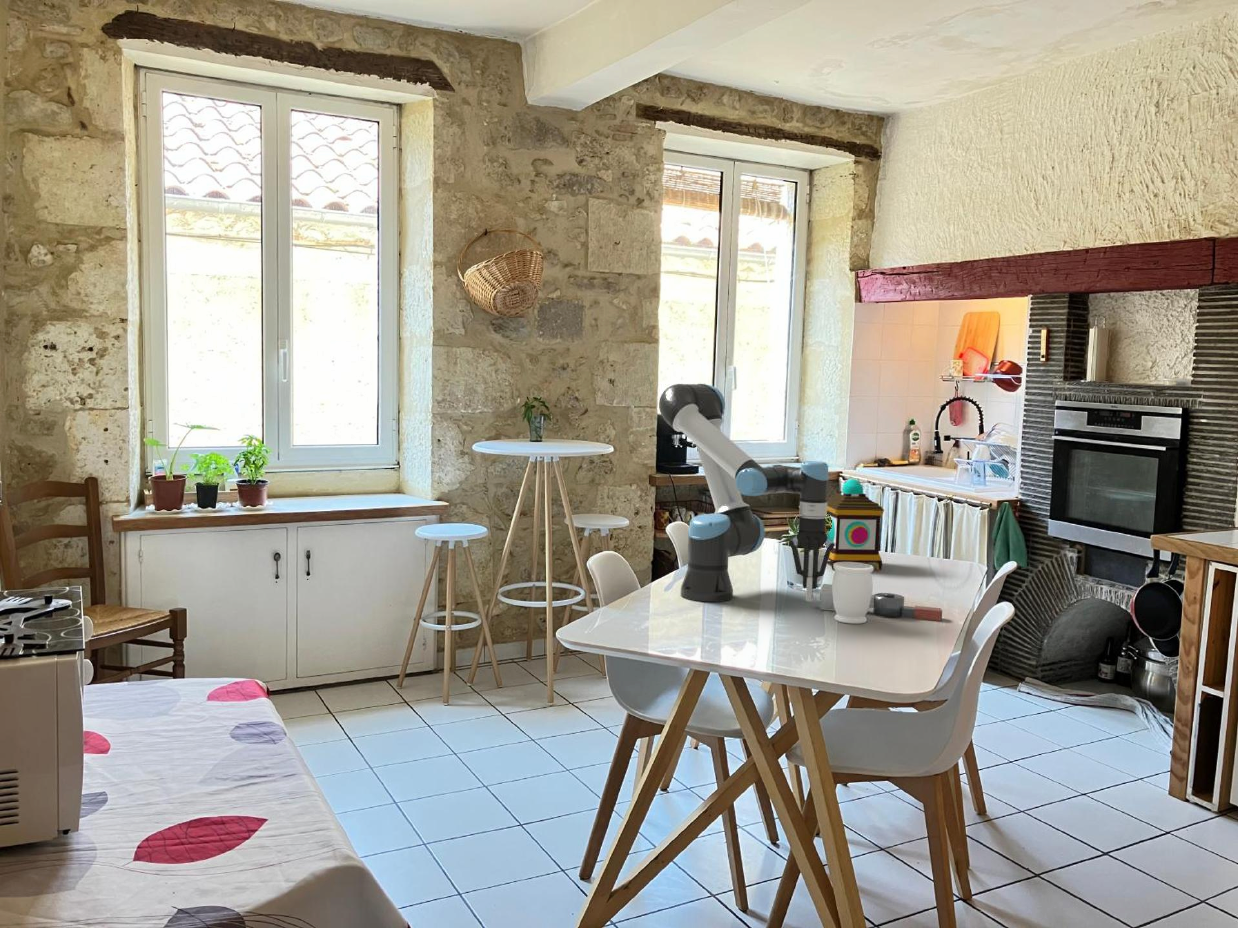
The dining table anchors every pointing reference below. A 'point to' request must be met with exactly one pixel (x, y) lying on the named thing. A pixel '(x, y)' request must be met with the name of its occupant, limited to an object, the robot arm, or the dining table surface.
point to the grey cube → (826, 598)
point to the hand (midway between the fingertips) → (809, 599)
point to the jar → (852, 591)
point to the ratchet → (901, 608)
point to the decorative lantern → (854, 526)
